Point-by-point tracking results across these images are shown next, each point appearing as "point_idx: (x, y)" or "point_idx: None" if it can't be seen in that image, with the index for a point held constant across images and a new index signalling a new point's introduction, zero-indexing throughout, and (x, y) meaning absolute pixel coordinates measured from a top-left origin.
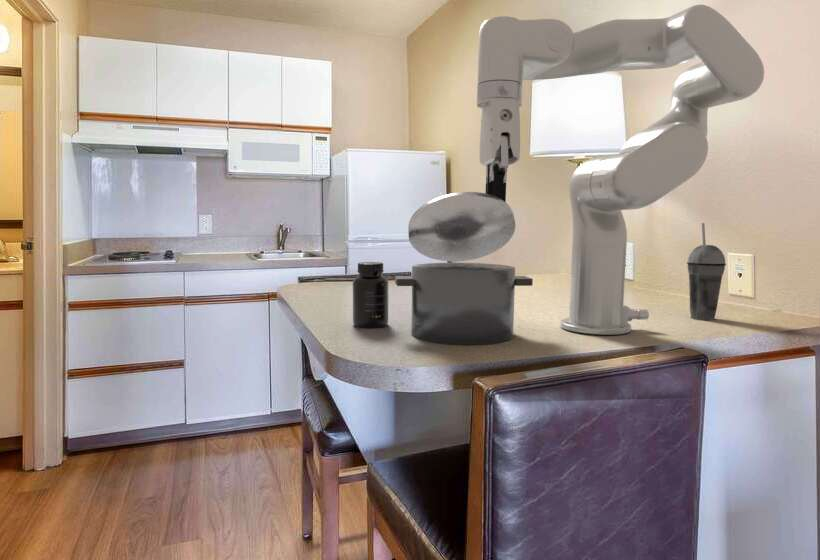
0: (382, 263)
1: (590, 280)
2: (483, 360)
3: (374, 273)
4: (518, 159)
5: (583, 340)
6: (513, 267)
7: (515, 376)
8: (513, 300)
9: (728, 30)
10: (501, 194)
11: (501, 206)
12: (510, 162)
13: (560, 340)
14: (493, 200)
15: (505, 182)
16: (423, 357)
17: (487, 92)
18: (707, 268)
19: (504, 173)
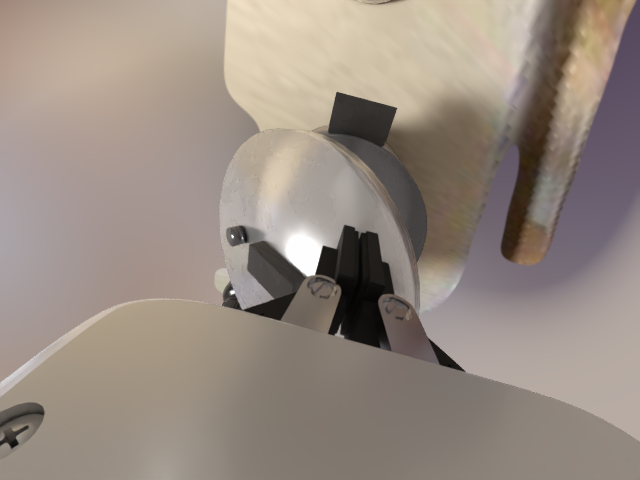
0: (240, 309)
1: None
2: (465, 232)
3: None
4: (623, 433)
5: (452, 26)
6: (373, 149)
7: (534, 234)
8: (391, 151)
9: None
10: (389, 275)
11: (415, 265)
12: (341, 352)
13: (432, 73)
14: (415, 303)
15: (396, 296)
16: (423, 274)
17: None
18: None
19: (445, 358)
